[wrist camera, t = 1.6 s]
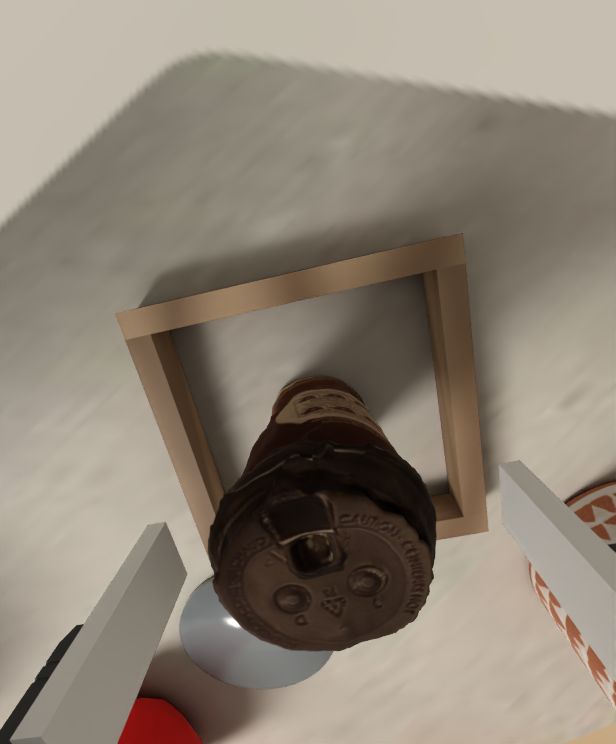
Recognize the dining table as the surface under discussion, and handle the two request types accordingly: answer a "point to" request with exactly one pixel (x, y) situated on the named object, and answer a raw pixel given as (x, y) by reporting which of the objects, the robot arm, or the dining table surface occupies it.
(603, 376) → the dining table surface
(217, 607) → the flat grey disc
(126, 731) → the tomato
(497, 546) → the dining table surface
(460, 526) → the square wooden frame
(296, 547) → the coffee cup
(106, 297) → the dining table surface
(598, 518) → the planter
